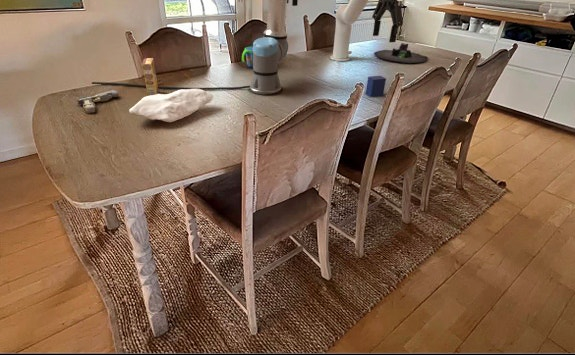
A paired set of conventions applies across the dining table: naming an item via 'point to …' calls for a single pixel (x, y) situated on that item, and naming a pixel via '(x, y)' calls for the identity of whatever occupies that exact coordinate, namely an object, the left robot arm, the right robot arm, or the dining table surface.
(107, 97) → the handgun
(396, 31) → the left robot arm
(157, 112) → the crumpled cloth
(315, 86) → the dining table surface
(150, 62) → the candy box
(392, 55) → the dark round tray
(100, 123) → the dining table surface
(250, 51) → the snack cup
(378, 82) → the block
